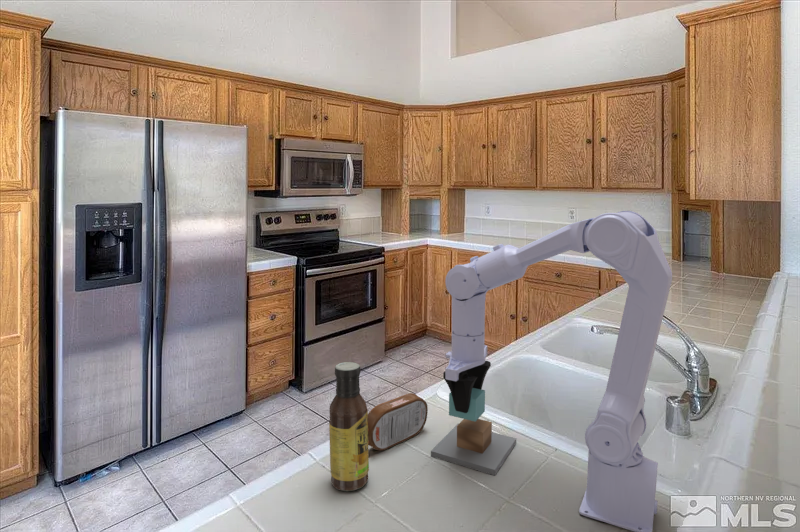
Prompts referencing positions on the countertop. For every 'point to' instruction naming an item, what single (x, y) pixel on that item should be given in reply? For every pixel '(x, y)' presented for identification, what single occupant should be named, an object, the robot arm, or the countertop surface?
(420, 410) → the tin
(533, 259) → the robot arm
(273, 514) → the countertop surface
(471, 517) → the countertop surface
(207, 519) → the countertop surface
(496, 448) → the baseplate
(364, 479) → the sauce bottle
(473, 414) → the teal brick
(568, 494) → the countertop surface
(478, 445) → the walnut brick
